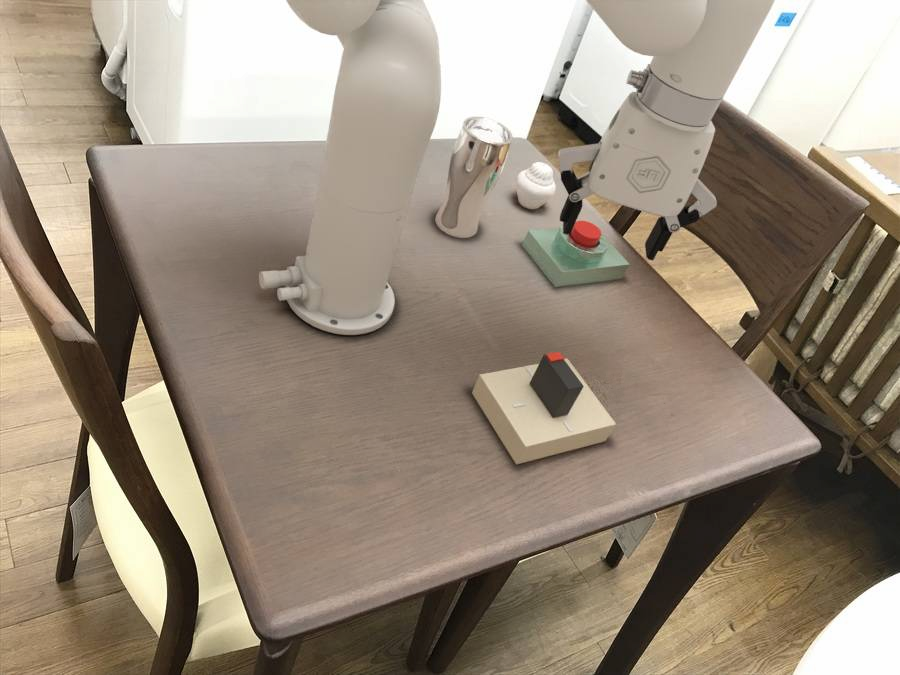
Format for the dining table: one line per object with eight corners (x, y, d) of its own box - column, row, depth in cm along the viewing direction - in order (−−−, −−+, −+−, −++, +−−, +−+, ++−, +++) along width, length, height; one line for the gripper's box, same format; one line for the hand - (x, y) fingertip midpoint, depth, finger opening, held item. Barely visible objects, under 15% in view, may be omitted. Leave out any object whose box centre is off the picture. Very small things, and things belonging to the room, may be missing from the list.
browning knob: (567, 414, 81) (585, 384, 78) (552, 418, 80) (569, 387, 77) (543, 380, 84) (559, 350, 81) (529, 383, 83) (544, 352, 80)
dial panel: (516, 464, 78) (526, 445, 76) (471, 392, 84) (479, 373, 82) (605, 441, 84) (617, 423, 82) (558, 375, 90) (567, 357, 88)
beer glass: (475, 246, 104) (510, 151, 95) (426, 229, 104) (457, 132, 94) (483, 220, 110) (517, 127, 100) (437, 204, 110) (467, 109, 100)
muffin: (501, 197, 116) (516, 157, 111) (525, 187, 120) (540, 148, 115) (532, 219, 114) (548, 180, 109) (555, 209, 118) (572, 170, 113)
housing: (554, 287, 103) (567, 261, 100) (521, 245, 108) (532, 219, 105) (621, 279, 109) (635, 254, 106) (587, 239, 114) (599, 215, 111)
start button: (579, 249, 103) (584, 239, 102) (564, 231, 106) (568, 221, 105) (602, 247, 105) (607, 237, 104) (586, 229, 108) (591, 219, 107)
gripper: (593, 86, 70) (531, 236, 81) (768, 142, 71) (684, 282, 82) (591, 55, 75) (534, 200, 87) (754, 108, 77) (677, 243, 88)
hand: (607, 240), depth 84 cm, fingers open, 9 cm apart
